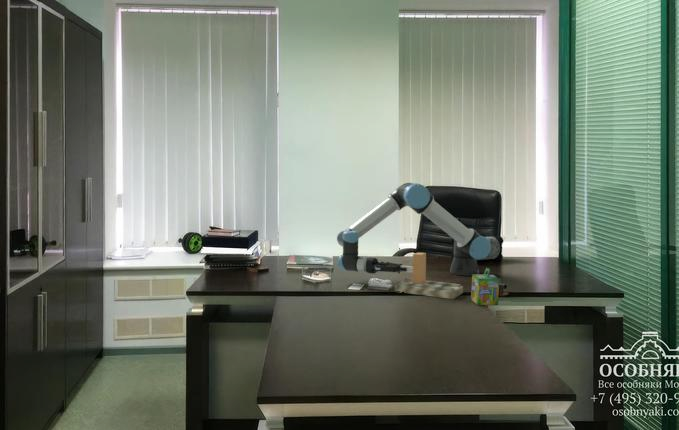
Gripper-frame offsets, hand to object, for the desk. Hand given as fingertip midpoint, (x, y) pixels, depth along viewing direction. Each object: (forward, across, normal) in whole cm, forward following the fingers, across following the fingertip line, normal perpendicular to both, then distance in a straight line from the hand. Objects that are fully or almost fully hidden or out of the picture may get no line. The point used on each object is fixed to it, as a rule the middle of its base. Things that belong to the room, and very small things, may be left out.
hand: (413, 269), depth 267 cm
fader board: (+7, -1, -10) cm, 12 cm away
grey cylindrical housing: (+3, -92, -10) cm, 92 cm away
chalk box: (+35, +5, -10) cm, 36 cm away
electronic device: (+35, -12, -10) cm, 39 cm away
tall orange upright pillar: (+2, -1, -6) cm, 7 cm away
